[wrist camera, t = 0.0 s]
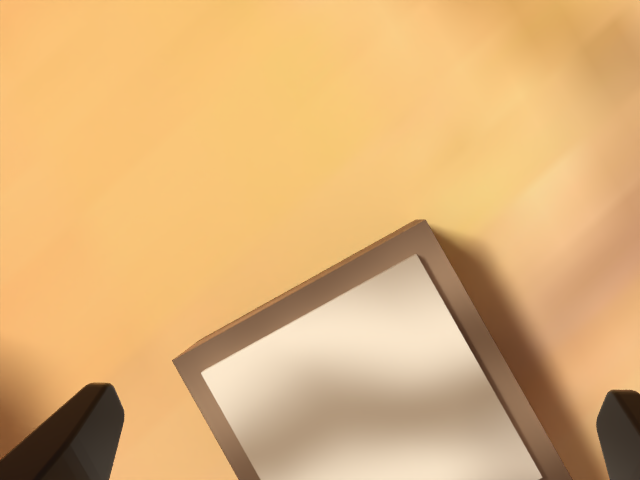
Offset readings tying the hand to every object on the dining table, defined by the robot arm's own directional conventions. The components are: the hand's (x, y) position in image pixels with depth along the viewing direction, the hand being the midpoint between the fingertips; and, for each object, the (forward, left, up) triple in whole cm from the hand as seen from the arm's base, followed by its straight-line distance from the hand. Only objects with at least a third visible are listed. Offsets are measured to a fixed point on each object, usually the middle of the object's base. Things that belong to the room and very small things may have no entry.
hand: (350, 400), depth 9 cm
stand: (-4, +2, -15) cm, 16 cm away
